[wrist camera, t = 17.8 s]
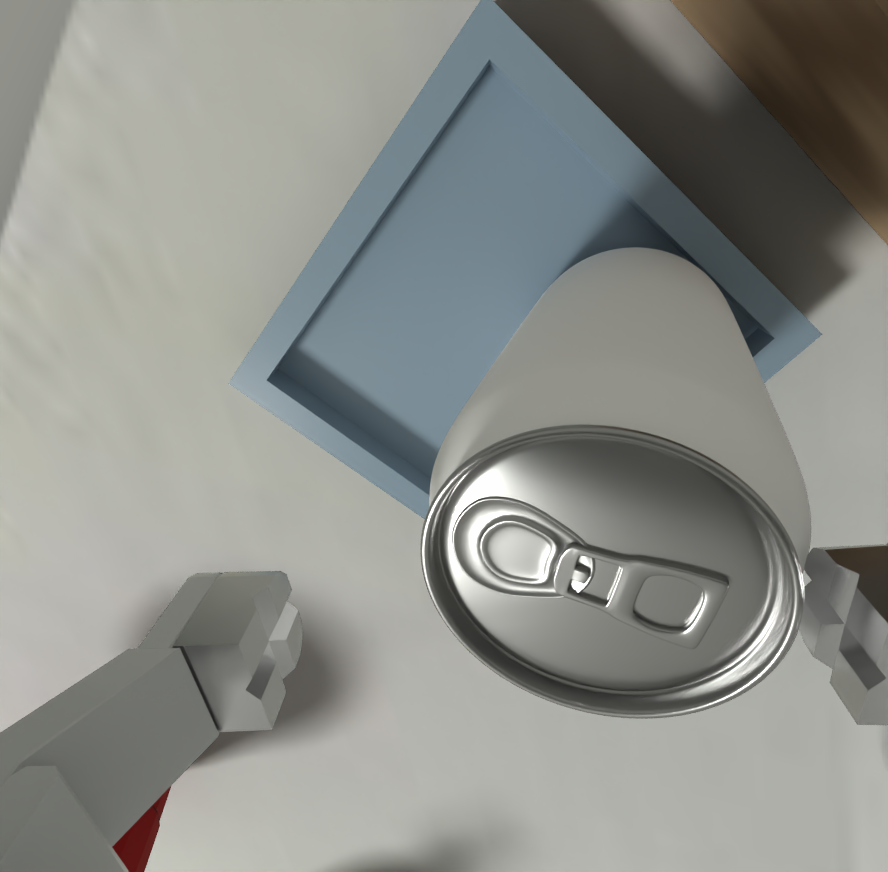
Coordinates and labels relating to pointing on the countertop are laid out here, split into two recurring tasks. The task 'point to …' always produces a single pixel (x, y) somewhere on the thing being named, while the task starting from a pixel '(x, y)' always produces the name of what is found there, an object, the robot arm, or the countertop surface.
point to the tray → (475, 258)
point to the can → (621, 500)
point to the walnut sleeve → (815, 81)
